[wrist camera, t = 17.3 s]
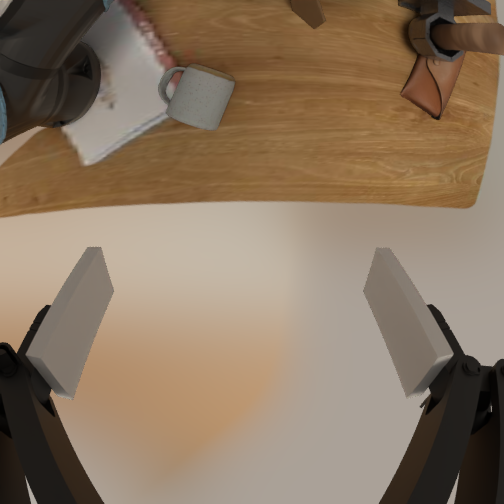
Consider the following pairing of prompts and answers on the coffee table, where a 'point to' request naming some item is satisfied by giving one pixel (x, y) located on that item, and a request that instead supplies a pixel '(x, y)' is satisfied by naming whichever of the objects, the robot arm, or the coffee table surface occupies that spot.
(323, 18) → the photo frame
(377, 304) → the robot arm
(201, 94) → the ceramic mug
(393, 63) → the coffee table surface
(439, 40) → the brown wooden dowel
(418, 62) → the sunglasses case
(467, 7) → the bracket
